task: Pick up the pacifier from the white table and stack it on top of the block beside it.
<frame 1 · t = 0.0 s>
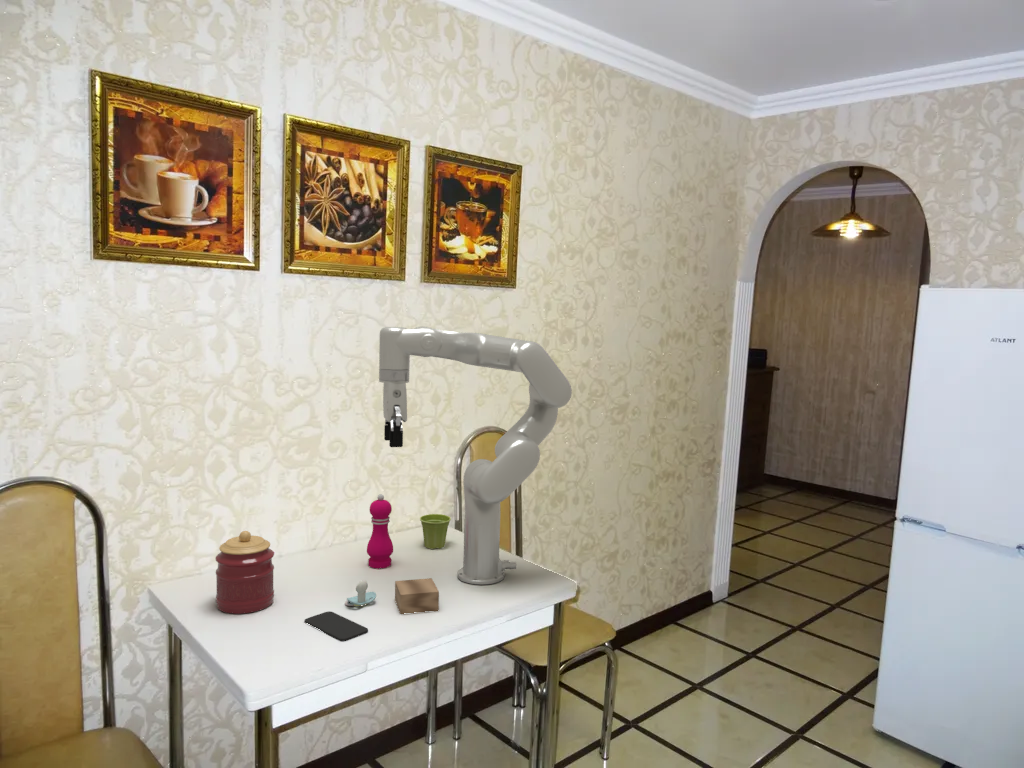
hand: (393, 443, 183), 37 cm above the table, tool pointing down, fingers open, 9 cm apart
pacifier: (359, 605, 173), on the table
plant pot: (434, 546, 218), on the table
phone: (335, 628, 160), on the table
canister: (245, 604, 171), on the table
pepper mill: (379, 565, 200), on the table
block: (416, 606, 173), on the table
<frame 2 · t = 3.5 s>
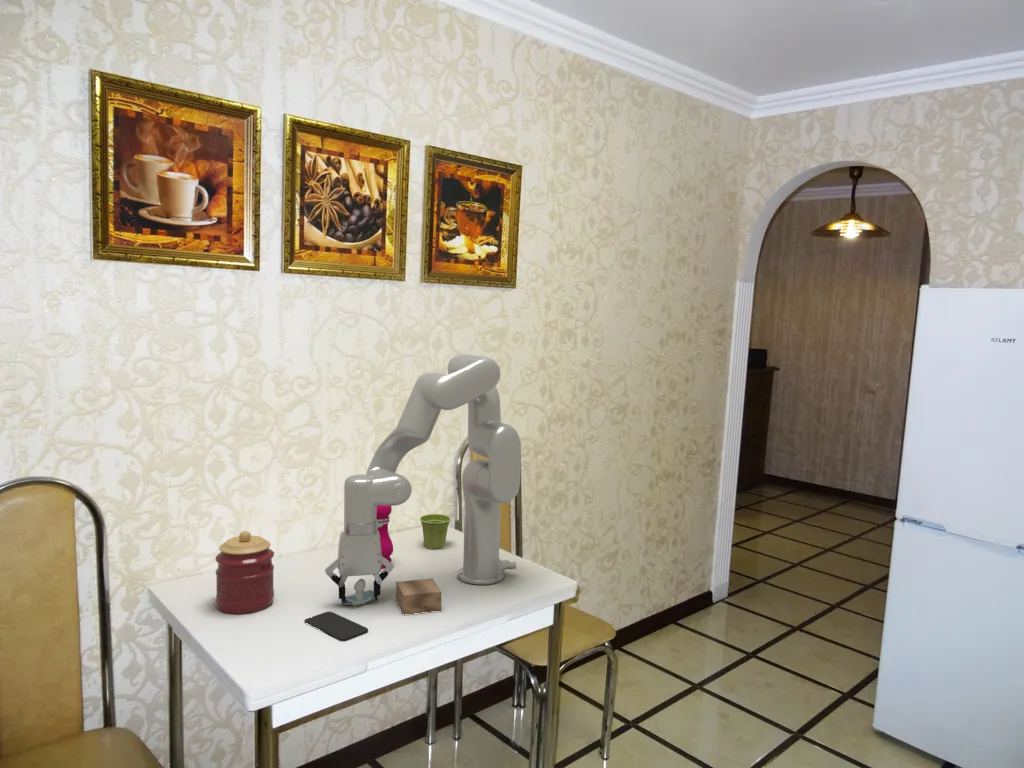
hand: (359, 599, 173), 1 cm above the table, tool pointing down, fingers closed on pacifier, 7 cm apart
pacifier: (357, 603, 173), on the table, touching gripper
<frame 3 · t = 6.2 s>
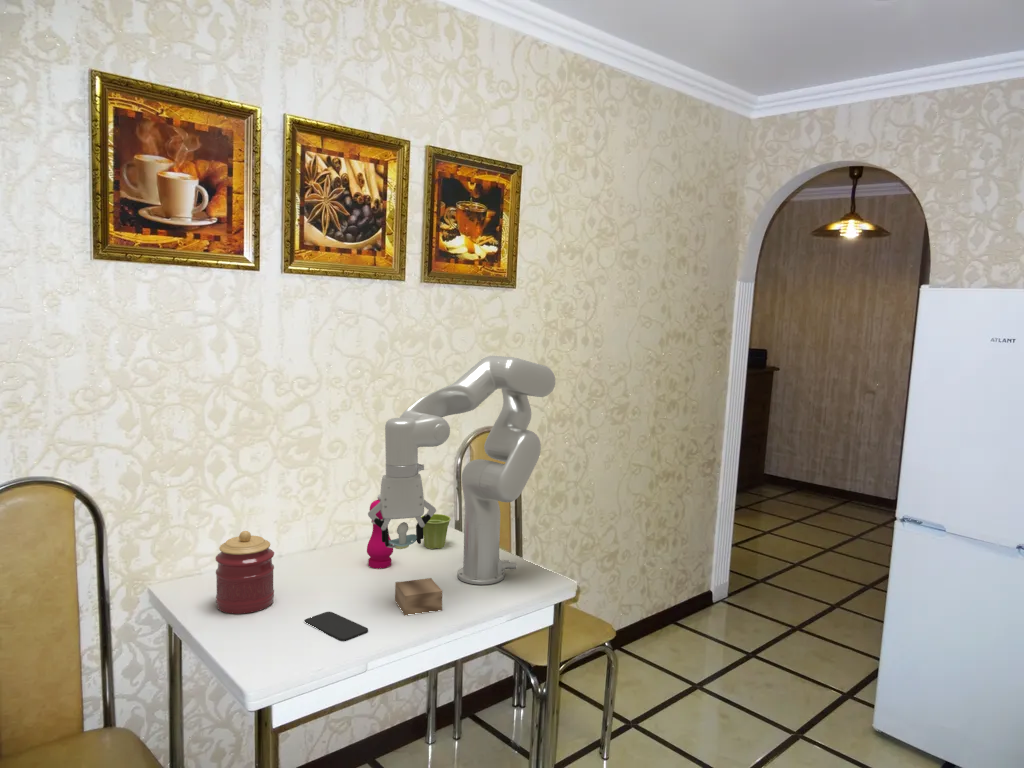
hand: (402, 542, 172), 15 cm above the table, tool pointing down, fingers closed on pacifier, 7 cm apart
pacifier: (400, 547, 173), point 14 cm above the table, touching gripper
everything else where it was.
when the fingers open (7 cm above the table, at t = 9.2 s): pacifier drops 1 cm, resting on block.
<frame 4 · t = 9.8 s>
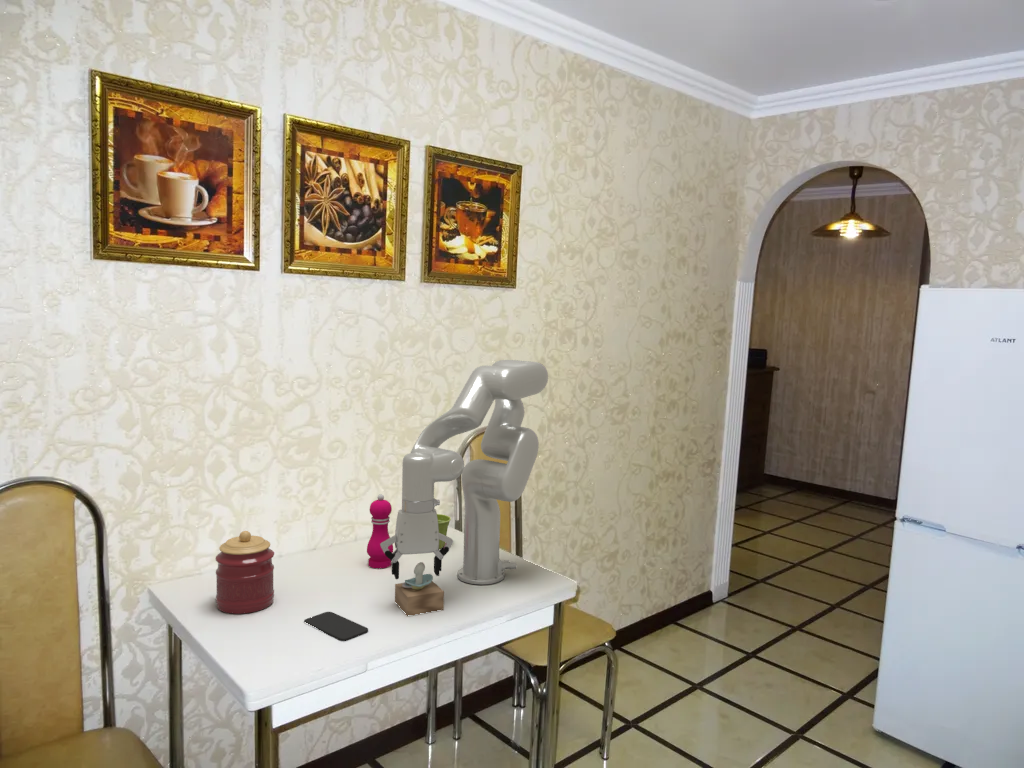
hand: (416, 575, 172), 7 cm above the table, tool pointing down, fingers open, 9 cm apart
pacifier: (416, 587, 173), point 4 cm above the table, touching block
block: (418, 607, 172), on the table, touching pacifier
everything else where it was.
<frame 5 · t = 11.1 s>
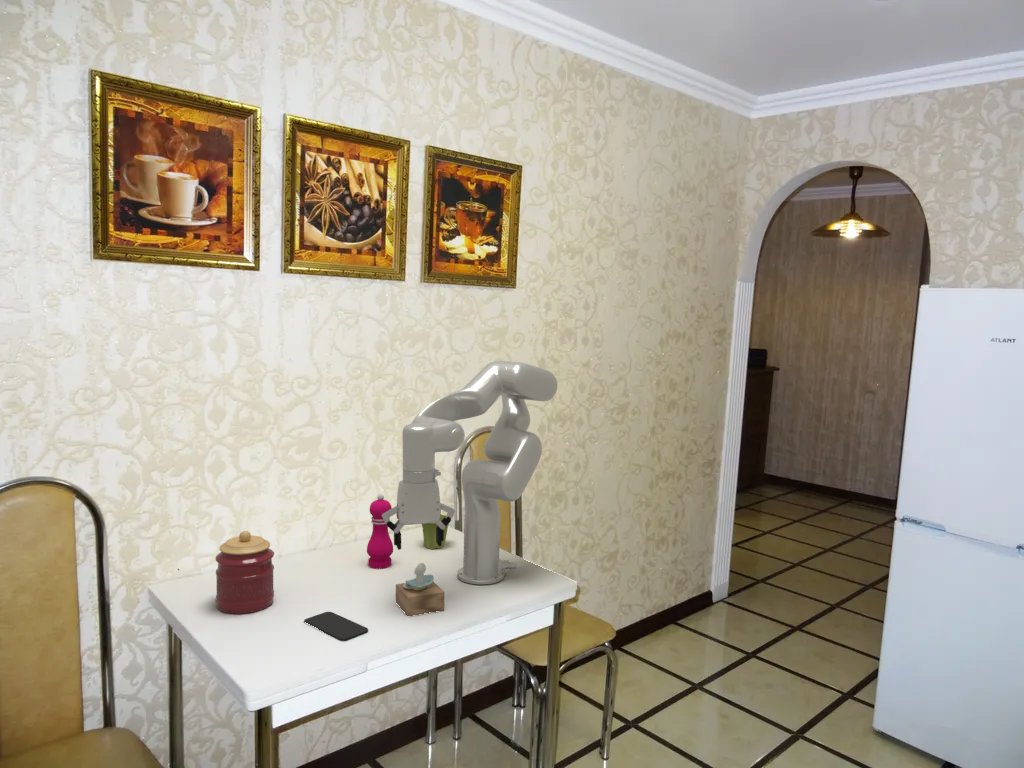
hand: (418, 546, 172), 14 cm above the table, tool pointing down, fingers open, 9 cm apart
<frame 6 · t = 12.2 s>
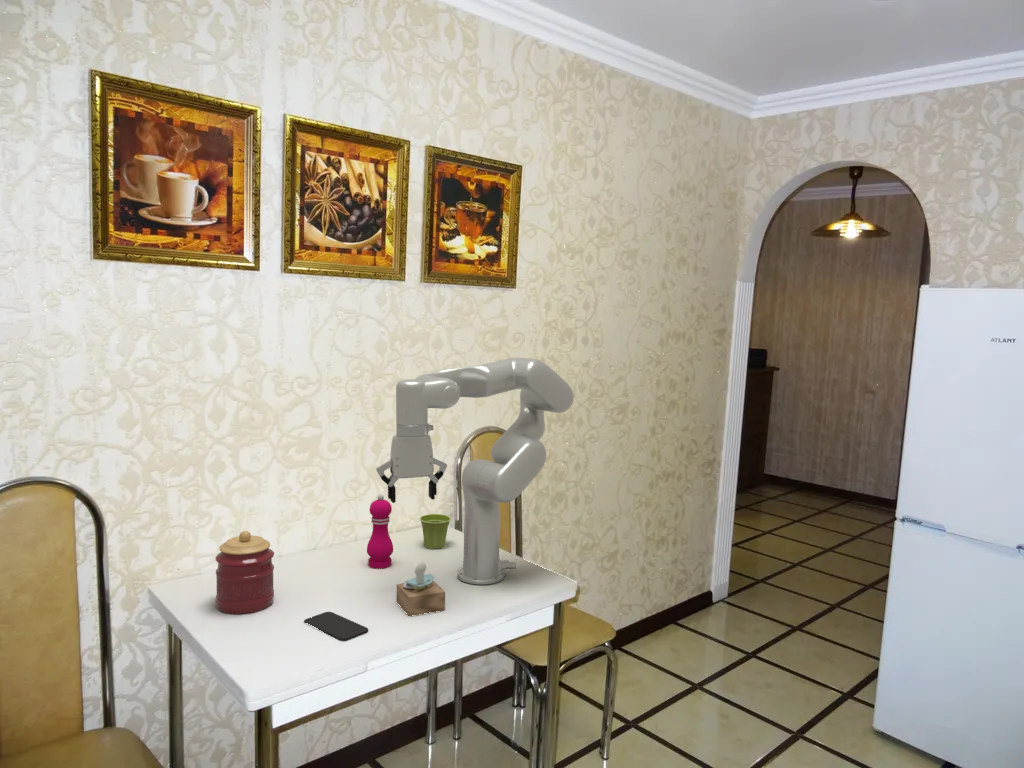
hand: (412, 499, 176), 24 cm above the table, tool pointing down, fingers open, 9 cm apart
pacifier: (417, 587, 172), point 4 cm above the table
block: (420, 608, 172), on the table
everything else where it was.
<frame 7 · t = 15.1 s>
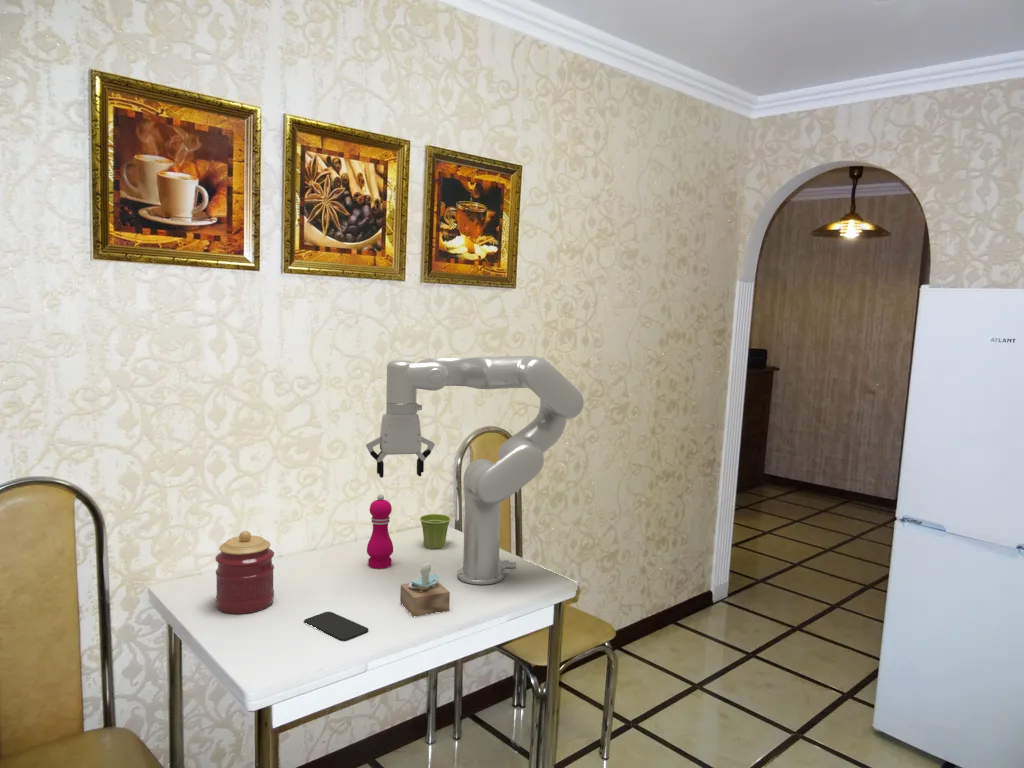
hand: (400, 475, 184), 28 cm above the table, tool pointing down, fingers open, 9 cm apart
pacifier: (422, 587, 173), point 4 cm above the table, touching block
block: (424, 608, 172), on the table, touching pacifier
everything else where it was.
at the end: pacifier 1.2 cm off-centre on the block, point 4.8 cm above the block's base; pacifier point 4.3 cm above the table; the gripper is holding nothing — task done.
